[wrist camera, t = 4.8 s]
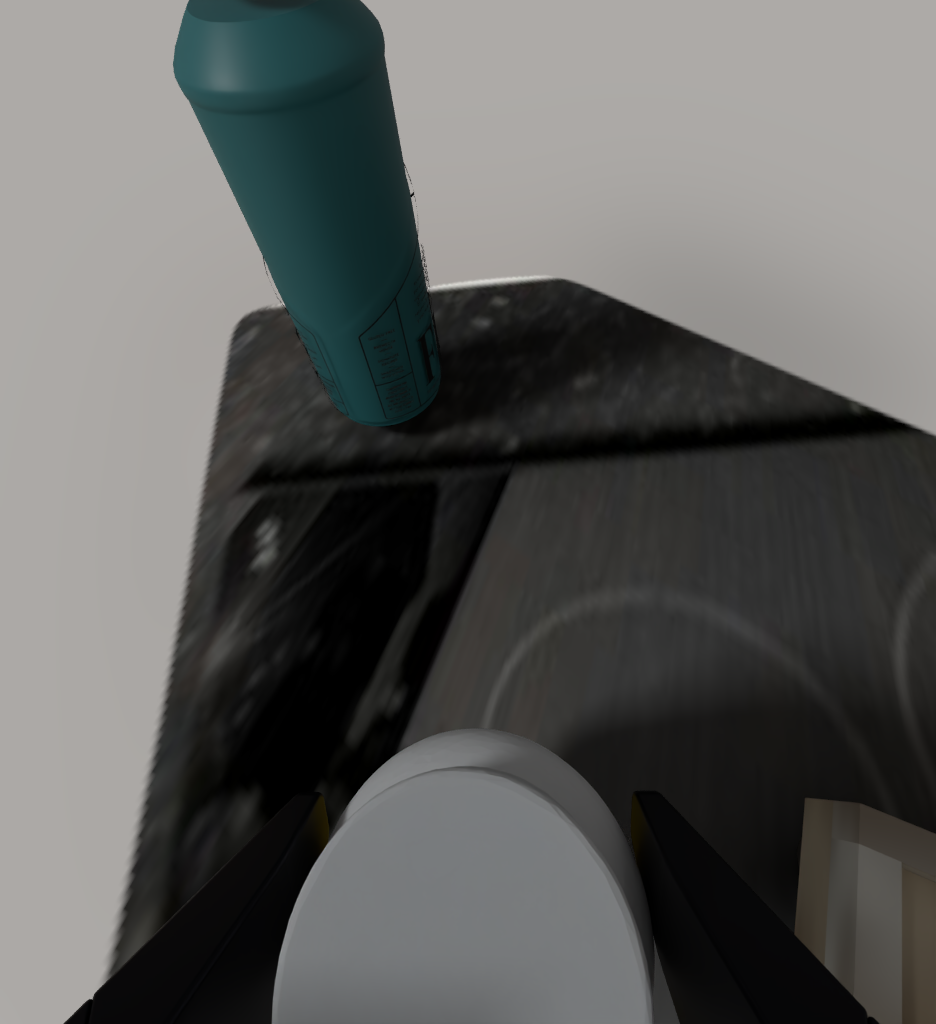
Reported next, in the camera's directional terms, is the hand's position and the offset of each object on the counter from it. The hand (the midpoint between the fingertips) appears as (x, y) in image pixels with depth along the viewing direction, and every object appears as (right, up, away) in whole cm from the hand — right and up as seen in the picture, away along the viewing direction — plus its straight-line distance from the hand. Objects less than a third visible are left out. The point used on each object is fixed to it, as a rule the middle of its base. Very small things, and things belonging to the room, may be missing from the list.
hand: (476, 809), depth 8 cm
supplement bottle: (+1, -5, +5) cm, 7 cm away
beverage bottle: (-5, +12, +19) cm, 23 cm away
